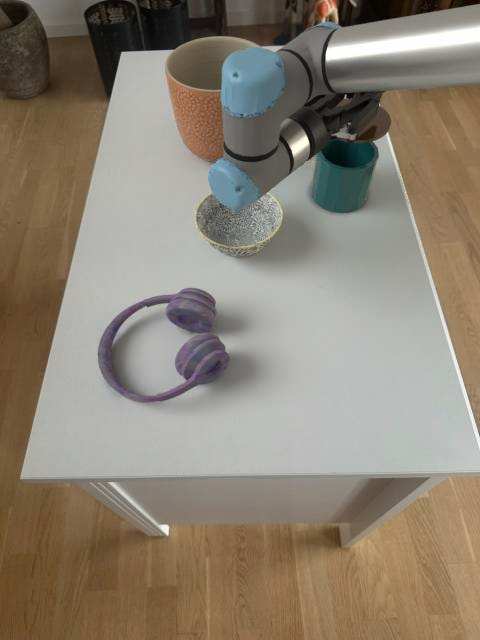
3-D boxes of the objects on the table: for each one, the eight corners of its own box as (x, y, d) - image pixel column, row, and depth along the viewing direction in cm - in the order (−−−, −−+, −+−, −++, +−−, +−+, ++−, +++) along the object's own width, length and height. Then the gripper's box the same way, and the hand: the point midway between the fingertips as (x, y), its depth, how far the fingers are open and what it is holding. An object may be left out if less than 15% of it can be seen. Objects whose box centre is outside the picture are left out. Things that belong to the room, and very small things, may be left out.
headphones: (216, 295, 78) (108, 327, 79) (205, 267, 71) (87, 303, 72) (239, 388, 69) (116, 424, 69) (229, 366, 62) (93, 406, 62)
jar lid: (385, 151, 75) (400, 103, 68) (311, 139, 78) (318, 91, 70) (392, 109, 82) (406, 61, 75) (324, 99, 84) (331, 51, 77)
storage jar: (375, 205, 91) (389, 162, 82) (323, 218, 89) (331, 175, 81) (352, 170, 97) (362, 127, 88) (302, 181, 95) (308, 138, 87)
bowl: (240, 288, 80) (239, 261, 74) (181, 244, 86) (176, 215, 80) (297, 241, 86) (300, 212, 80) (238, 202, 92) (237, 173, 86)
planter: (283, 158, 100) (289, 73, 84) (198, 186, 95) (188, 102, 79) (243, 111, 110) (242, 27, 94) (165, 134, 105) (150, 50, 89)
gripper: (254, 141, 74) (338, 83, 83) (330, 183, 68) (411, 116, 77) (255, 98, 68) (345, 40, 77) (338, 140, 62) (426, 72, 71)
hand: (378, 78), depth 77 cm, fingers closed on jar lid, 3 cm apart
